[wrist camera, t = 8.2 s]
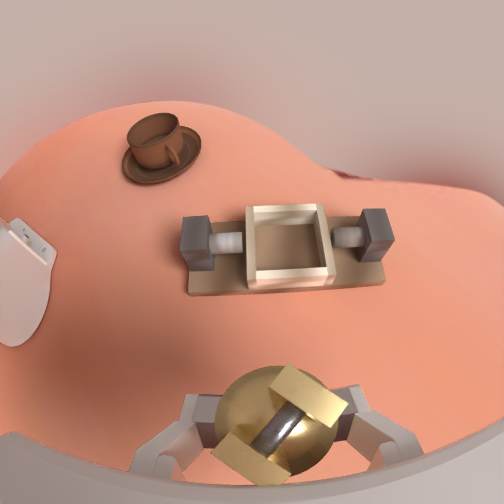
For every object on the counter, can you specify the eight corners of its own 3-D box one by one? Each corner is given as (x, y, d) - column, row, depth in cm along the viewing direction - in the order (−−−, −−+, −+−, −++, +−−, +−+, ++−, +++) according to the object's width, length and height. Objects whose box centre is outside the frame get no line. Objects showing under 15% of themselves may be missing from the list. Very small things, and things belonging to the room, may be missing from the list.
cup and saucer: (219, 145, 40) (213, 111, 34) (167, 202, 35) (152, 168, 30) (161, 129, 43) (152, 99, 38) (111, 177, 38) (95, 147, 33)
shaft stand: (190, 296, 29) (174, 273, 24) (195, 230, 32) (183, 199, 28) (382, 285, 28) (402, 260, 23) (366, 222, 32) (380, 191, 27)
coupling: (223, 415, 15) (171, 438, 6) (265, 366, 16) (266, 328, 7) (276, 453, 14) (292, 520, 5) (318, 403, 15) (384, 408, 6)
